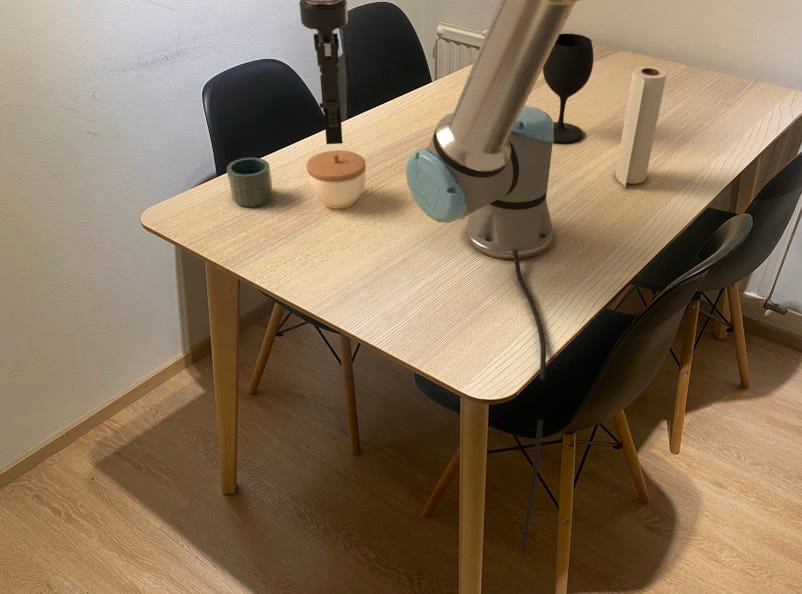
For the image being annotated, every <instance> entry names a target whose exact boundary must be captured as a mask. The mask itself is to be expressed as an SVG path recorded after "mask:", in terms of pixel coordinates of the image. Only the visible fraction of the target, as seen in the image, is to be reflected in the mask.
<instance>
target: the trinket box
mask: <svg viewBox="0 0 802 594" xmlns="http://www.w3.org/2000/svg"><path fill="white" fill-rule="evenodd" d="M366 167H367V163H366V160H365V159H364V157H363V156H362V155H360V154H358V153H355V152H354V151H353V152H352V151H348V150H328V151H322V152H319V153H316V154H314V155H313V156H311V157H310V158H309V159H308V160H307V161H306V171H307V176H308V177H307V178H308V182H309V186H310V188H311V191H312V193H313V195H314V196H315V197H316V198H317V200H318V201H320V202H321V203H323V205H324V206H325V207H327V208H330V209H335V210H338V209H339V210H341V209H347V208H350V207H352V206H353V205H355V203H356V201H357V200H358V199H359V198H360V197H361V195H362V193H363V192H364V189H365V185H366V169H367V168H366Z"/></svg>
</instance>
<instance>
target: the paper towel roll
mask: <svg viewBox="0 0 802 594" xmlns="http://www.w3.org/2000/svg"><path fill="white" fill-rule="evenodd" d="M666 79H667V72H666V71H665V70H664V69H662V68H659V67H654V66H638V67H636V68H634V69H633V70H632V76H631V81H630V86H629V87H630V88H629V93H628V99H627V105H626V111H625V116H624V123H623V129H622V133H621V140H620V145H619V151H618V156H617V163H616V169H615V178H616V179H617V181H618V182H619V183H620V184H621V185H623V186H624V188H626V186H627V184H632V185H633V184H634V185H635V184H641V183H643V182H645V180H646V178H647V174H648V168H649V163H650V159H651V154H652V148H653V144H654V140H655V133H656V130H657V129H656V128H657V124H658V119H659V115H660V109H661V105H662V100H663V95H664V89H665V84H666Z"/></svg>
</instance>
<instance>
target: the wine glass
mask: <svg viewBox="0 0 802 594" xmlns="http://www.w3.org/2000/svg"><path fill="white" fill-rule="evenodd" d="M593 67H594V46H593V42H592V39H591V38H589V37H588V36H585V35H582V34H577V33H560V35H559V37H558V39H557V41H556V43H555V45H554V47H553V49H552V51H551V53H550V55H549V57H548V59H547V61H546V63H545V65H544V67H543V69H542V73H543V79H544V81H545V83H546V84H547V86H548V87H549V89H550V90H551V91H552V92H553V93H554V94H555V95H557V97H559V102H560V103H559V114H558V121H553V123H554V132H553V138H554V142H553V143H555V144H570V143H574V142H577V141H579V140H581V139H582V138H583V137H584V132H583V130H582V129H581V128H580V127H579V126H577V125H574V124H572V123H568V122H564V121H565V120H564V118H565V109H566V105H567V100H568V99H569V98H570V97H572V96H573V95H575V94H577V93H578V92H580V91H581V90H582V89H583V88H584V86H585V85H586V84H587V83H588V82H589V79H590V78H591V74H592V71H593V69H594V68H593Z"/></svg>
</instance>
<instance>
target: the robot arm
mask: <svg viewBox="0 0 802 594" xmlns="http://www.w3.org/2000/svg"><path fill="white" fill-rule="evenodd" d="M580 1H581V0H498V2H497V5H496V6H495V10H494V12H493V15H492V17H491V20H490V22H489V25H488V27H487V29H486V32H485V34H484V38H483V39H482V42H481V44H480V46H479V49H478V52H477V54H476V57H475V59H474V60H473V61H474V62H473V64H472V66H471V69H470V71H469V74H468V76H467V79H466V82H465V84H464V85H463V89H462V91H461V94H460V96H459V99H458V101H457V104H456V106H455V109H454V111H453V112H451V113H447V114H445V115H444V116H443V117H442V118H440V120H439V121H438V123H437V125H436V127H435V130H434V133H433V135H432V137H431V140H430V142H429V144H428V146H426V147H425V148H418V149H416V151H415V152H414V153H413V154H411V155H410V156H409V158H408V160H407V162H406V166H405V167H406V168H405V175H406V176H405V177H406V181H407V185H408V188H409V190H410V194H411V196H412V197H413V200H414V201H415V203H416V205H417V206H418V207H419V209H420V210H421V211H422V212H423V213H424V215H426V216H427V217H429V218H430V219H432V220H433V221H435V222H438V223H444V224H451V223H453V222H455V221H458V220H462V219H465V218H466V217H467V216H469V217H468V218H467V222H466V225H465V226H466V227H465V238H466V240H467V243H468V244H469V245H470V246H471V247H472V248H473V249H474V250H475V251H477V252H479V253H481V254H483V255H486V256H489V257H492V258H495V259H496V258H497V259H502V260H503V259H504V260H513V262H514V269H515V274H516V277H517V281H518V283H519V285H520V286H519V287H521V290H522V292H523V294H524V296H525V297H526V300H527V301H528V303H529V304H528V305H529V307H530V309H531V312H532V315H533V318H534V321H535V325H536V328H537V332H538V339H539V346H540V357H539V359H540V360H539V363H540V364H539V368H540V369H539V379H540V380H541V381H545V380H546V375H547V373H546V372H547V371H546V370H547V369H546V368H547V346H546V338H545V333H544V328H543V324H542V320H541V318H540V315H539V311H538V309H537V306H536V304H535V302H534V299H533V297H532V295H531V292H530V291H529V289H528V287H527V285H526V284H525V281H524V278H523V276H522V271H521V265H520V260H524V259H529V258H534V257H536V256H539V255H541V254H543V253H544V252H546V251H547V250H548V249H549V248H550V246H551V244H552V241H553V234H554V230H553V223H552V219H551V215H550V211H549V207H548V202H547V196H548V195H547V194H548V186H549V178H550V170H551V169H550V168H551V162H552V161H551V160H552V153H553V145H554V143H555V142H554V138H553V132H554V123H553V122H554V121H553V119H552V117H551V116H550V114H549V113H547V112H545V111H543V110H542V109H540V108H537V107H534V106H532V105H531V106H530V105H527V104H526V103H527V101H528V99H529V97H530V95H531V93H532V90H533V89H534V87H535V85H536V83H537V80H538V79H539V77H540V75H541V73H542V72H543V67H544V65H545V63H546V61H547V59H548V57H549V55H550V53H551V51H552V49H553V47H554V45H555V43H556V41H557V39H558V37H559V35H560V34H562V33H561V32H562V31H563V29H564V26H565V24H566V22H567V20H568V19H569V16H570V14H571V12H572V11H573V8H574V6H575V4H576V3H577V2H580ZM348 12H349V11H348V1H347V0H300V1H299V14H300V22H301V24H302V25H303V27H304V28H307V29H308V30H309V29H310V30H316V33H313V44H314V45H313V46H314V50H315V52H316V60H317V66H318V67H319V72H320V76H319V77H320V88H321V89H320V90H321V102H319V109H322V112H323V116H324V117H323V119H324V127H325V128H324V130H325V141H326V142H325V143H326V145H340V144H343V127H342V115H341V113H342V112H341V101H340V91H339V80H338V79H339V77H338V74H339V64H340V63H339V62H340V61H339V60H340V59H339V49H340V42H339V41H340V40H339V37H338V33H337V32H335V33H334V31H335V30H337V29H338V30H339V29H342V28H344V27H346V25H347V24H348V21H349V17H348V14H349V13H348ZM543 424H544V419H538V420H537V424H536V434H535V444H534V454H533V460H532V461H533V462H532V469H531V478H530V484H529V490H528V499H527V506H526V513H525V519H524V526H523V533H522V541H521V548H520V552H521V554H526V552H527V545H528V537H529V532H530V531H529V530H530V523H531V518H532V512H533V511H532V510H533V504H534V497H535V490H536V484H537V477H538V469H539V461H540V454H541V445H542V436H543V426H544V425H543Z"/></svg>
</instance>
